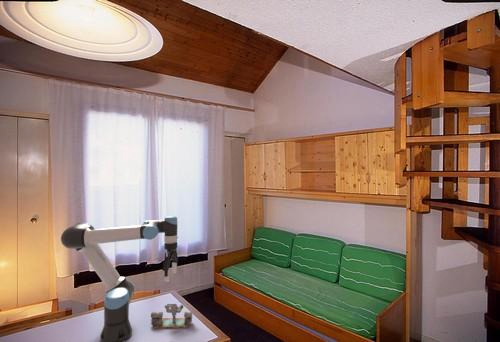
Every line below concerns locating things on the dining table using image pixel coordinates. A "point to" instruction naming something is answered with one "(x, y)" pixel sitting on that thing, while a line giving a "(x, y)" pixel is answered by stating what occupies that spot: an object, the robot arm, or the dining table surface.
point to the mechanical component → (173, 310)
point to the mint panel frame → (170, 320)
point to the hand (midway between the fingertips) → (170, 277)
